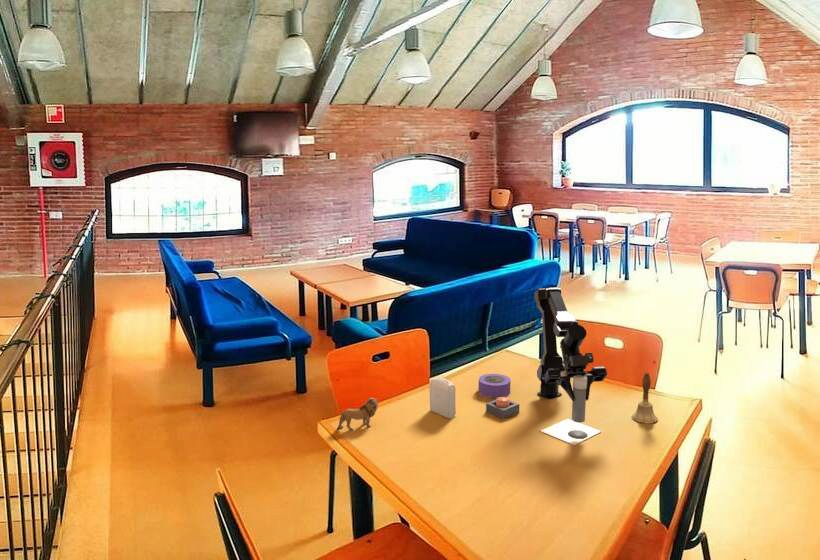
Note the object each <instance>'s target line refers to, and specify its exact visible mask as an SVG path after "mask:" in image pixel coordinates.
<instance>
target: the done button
mask: <svg viewBox="0 0 820 560" xmlns="http://www.w3.org/2000/svg"><path fill="white" fill-rule="evenodd" d="M495 400H496V406H499V407H501V408H506V407H508V406H510V401H511V399H510V398H508V397H507V396H505V397H498V398H495Z"/></svg>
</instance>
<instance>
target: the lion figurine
mask: <svg viewBox="0 0 820 560" xmlns="http://www.w3.org/2000/svg"><path fill="white" fill-rule="evenodd" d="M377 400H378V399H377V398H374V397H369V398H368V399H366V402H364V404H363V405H362V406H361V407H359V408H347V409H343V411H342V412H341V413H340V418H339V421H338V427H337V428H336V431H339V430H340V429H343V428H344V425H342V424H343V423H344V422H346V428H347V429H348V430H349V431H350V432H352V431H354V428H353V427H351V424H352V423H351V422H352V419H353V420H356V421H360V420H362V425H364V426H366V427H367V428H368V429H371V427H372V425H370V421H371V420H370V419H371V418H372V417H374V416H375V414H376V411H377V410H378V406H379V404H378V401H377Z"/></svg>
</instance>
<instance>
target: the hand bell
mask: <svg viewBox="0 0 820 560" xmlns="http://www.w3.org/2000/svg"><path fill="white" fill-rule="evenodd" d="M641 383H642V390H643V393H642V400H640V401H639V402H637V403H638V404H637V407H636V410H635V412H634V413H633V414H631V419H632V418H633V419H634V420H636V421H638V422H637V423H639V422H642V423H641V424H645V423H651V424H655V423H657V422H658V421H657V420H659V419H658V417H657V415H656V414H655V412H654V408H653V403H652V402H650V401H649V391H650V388H651V383H652V381H651V377H650V373H649V372H644V375H643V377H642V381H641ZM633 419H632V420H633ZM634 420H633V421H634ZM636 421H635V422H636ZM656 421H657V422H656ZM654 422H655V423H654Z"/></svg>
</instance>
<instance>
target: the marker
mask: <svg viewBox="0 0 820 560" xmlns="http://www.w3.org/2000/svg"><path fill="white" fill-rule="evenodd" d="M586 388H587V377H585V376H582V375H576V376H573V378H572V390H573V393H574V399H575V400H574V401H572V400H571V401H572V402H571V403H572V405H571V420H572V421H574V422H578V423H581V424H582V423H584V422H585V421H586V407H587V406H586V402H587V401H586Z"/></svg>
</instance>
